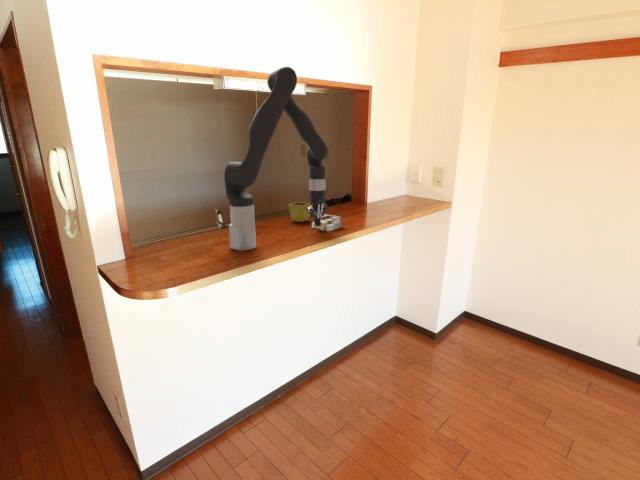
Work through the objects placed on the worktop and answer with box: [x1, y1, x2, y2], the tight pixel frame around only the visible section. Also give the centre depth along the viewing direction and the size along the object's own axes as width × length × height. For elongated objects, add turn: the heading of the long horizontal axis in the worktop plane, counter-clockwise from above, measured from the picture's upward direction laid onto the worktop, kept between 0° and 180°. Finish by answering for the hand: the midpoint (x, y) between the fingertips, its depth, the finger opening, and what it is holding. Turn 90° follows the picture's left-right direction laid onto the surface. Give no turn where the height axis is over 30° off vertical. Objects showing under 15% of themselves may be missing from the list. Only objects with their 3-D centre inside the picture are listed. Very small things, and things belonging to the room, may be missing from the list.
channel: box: [311, 213, 343, 232], centre depth 175 cm, size 10×10×5 cm
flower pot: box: [288, 201, 311, 223], centre depth 187 cm, size 9×9×9 cm
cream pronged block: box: [314, 218, 332, 231], centre depth 174 cm, size 8×5×4 cm, turn 140°
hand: (317, 225), depth 170 cm, fingers closed
